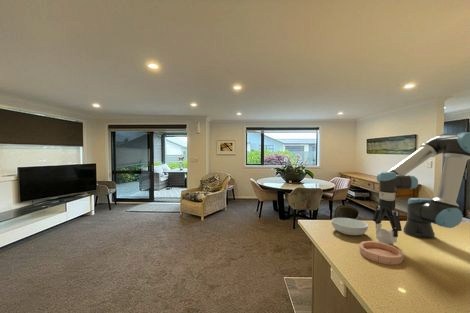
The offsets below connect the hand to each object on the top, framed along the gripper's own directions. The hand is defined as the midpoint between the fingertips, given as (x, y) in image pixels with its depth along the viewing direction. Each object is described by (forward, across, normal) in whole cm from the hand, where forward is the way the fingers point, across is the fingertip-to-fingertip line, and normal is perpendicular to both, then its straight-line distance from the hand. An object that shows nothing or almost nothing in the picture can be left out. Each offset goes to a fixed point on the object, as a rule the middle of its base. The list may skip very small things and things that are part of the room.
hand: (385, 238), depth 122 cm
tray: (+3, +12, -14) cm, 19 cm away
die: (+3, 0, 0) cm, 3 cm away
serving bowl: (+4, -18, -10) cm, 21 cm away
